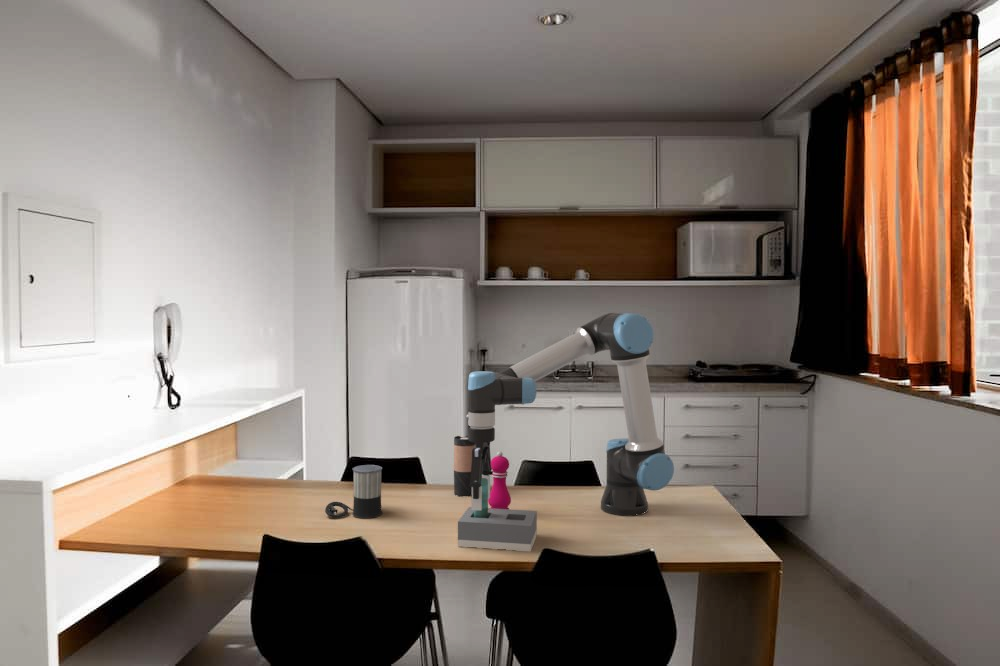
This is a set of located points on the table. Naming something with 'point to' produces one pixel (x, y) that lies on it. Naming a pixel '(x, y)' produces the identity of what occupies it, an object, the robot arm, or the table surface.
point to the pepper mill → (499, 483)
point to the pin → (483, 500)
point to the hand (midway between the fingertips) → (480, 503)
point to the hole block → (498, 529)
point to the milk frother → (362, 494)
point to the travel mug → (462, 465)
